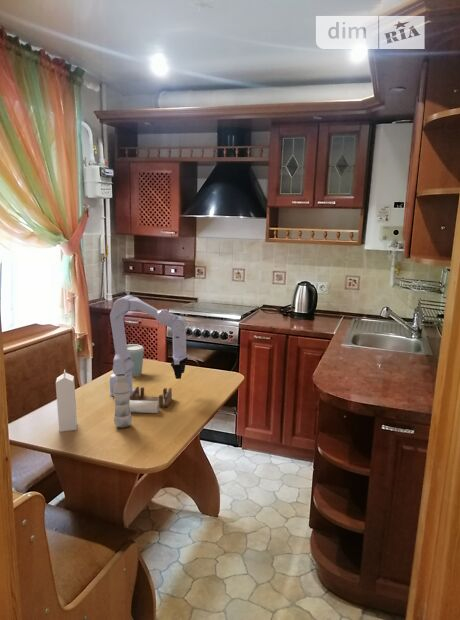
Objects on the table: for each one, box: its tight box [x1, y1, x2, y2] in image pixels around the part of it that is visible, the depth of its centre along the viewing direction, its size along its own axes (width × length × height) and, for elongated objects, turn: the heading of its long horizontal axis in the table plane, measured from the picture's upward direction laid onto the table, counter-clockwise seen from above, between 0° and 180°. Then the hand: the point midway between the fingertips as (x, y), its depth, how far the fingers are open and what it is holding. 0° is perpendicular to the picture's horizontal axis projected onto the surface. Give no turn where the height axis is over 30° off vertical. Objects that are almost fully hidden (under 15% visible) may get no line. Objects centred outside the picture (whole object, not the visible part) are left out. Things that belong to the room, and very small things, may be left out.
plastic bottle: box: [113, 374, 133, 429], centre depth 167 cm, size 6×7×20 cm
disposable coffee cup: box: [127, 343, 145, 378], centre depth 225 cm, size 11×11×15 cm
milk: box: [55, 369, 78, 433], centre depth 166 cm, size 6×6×22 cm
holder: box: [129, 386, 173, 409], centre depth 191 cm, size 15×10×5 cm, turn 85°
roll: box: [129, 399, 160, 414], centre depth 181 cm, size 12×5×5 cm, turn 85°
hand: (180, 375), depth 196 cm, fingers open, 7 cm apart
